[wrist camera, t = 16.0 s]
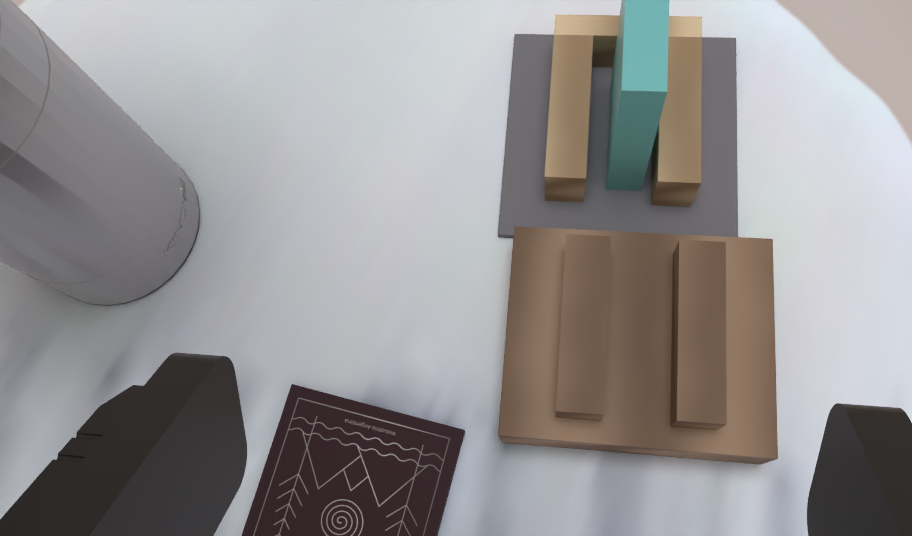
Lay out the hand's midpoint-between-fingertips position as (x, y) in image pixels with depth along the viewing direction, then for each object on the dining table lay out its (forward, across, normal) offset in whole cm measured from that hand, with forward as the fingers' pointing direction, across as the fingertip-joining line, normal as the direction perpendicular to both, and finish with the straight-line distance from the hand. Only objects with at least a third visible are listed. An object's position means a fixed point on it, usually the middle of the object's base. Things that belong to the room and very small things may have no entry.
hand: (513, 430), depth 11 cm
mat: (+34, -3, +7) cm, 35 cm away
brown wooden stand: (+26, -4, +15) cm, 30 cm away
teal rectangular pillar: (+33, -3, +7) cm, 34 cm away
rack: (+34, -3, +6) cm, 34 cm away
